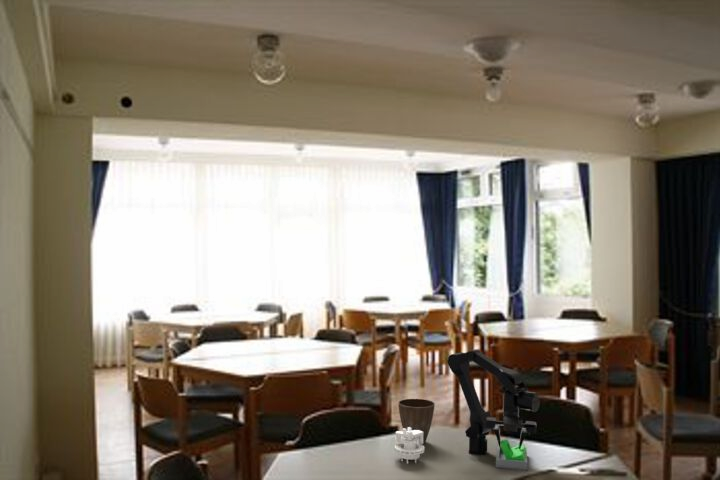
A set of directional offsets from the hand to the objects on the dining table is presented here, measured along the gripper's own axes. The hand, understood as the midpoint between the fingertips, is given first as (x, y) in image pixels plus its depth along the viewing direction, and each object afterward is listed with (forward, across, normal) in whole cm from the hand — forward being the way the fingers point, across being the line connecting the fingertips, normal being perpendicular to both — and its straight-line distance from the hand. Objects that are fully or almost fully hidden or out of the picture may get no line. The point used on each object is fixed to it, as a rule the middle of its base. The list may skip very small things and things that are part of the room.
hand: (509, 447), depth 237 cm
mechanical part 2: (+3, +3, 0) cm, 4 cm away
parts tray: (+5, +1, 0) cm, 5 cm away
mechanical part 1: (+6, -36, -9) cm, 38 cm away
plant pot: (+6, -37, +14) cm, 40 cm away
